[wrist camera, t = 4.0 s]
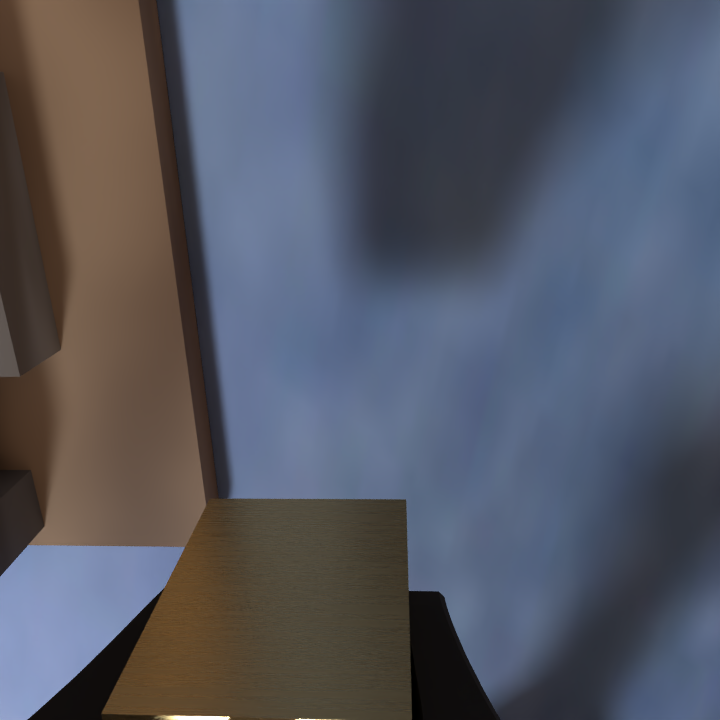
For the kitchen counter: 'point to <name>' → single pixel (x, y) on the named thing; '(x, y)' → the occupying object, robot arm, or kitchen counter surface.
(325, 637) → the gold square block
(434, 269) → the kitchen counter surface
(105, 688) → the robot arm
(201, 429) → the coupling base
